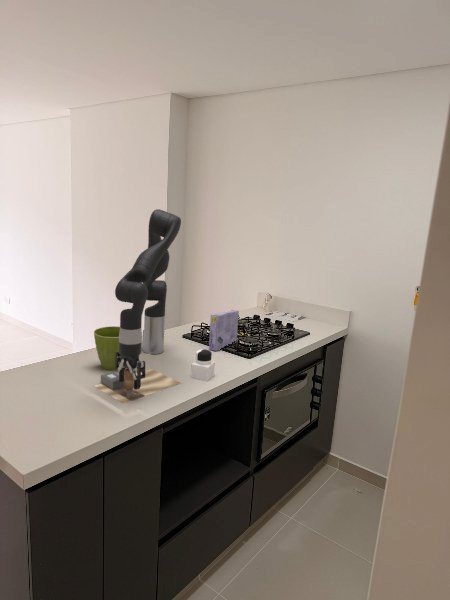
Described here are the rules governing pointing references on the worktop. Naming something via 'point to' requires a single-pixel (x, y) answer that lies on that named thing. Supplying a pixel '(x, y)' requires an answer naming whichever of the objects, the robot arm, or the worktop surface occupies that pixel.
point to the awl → (128, 381)
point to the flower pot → (107, 346)
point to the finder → (111, 380)
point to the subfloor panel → (148, 386)
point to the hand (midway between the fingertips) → (129, 385)
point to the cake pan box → (223, 329)
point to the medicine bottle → (203, 365)
